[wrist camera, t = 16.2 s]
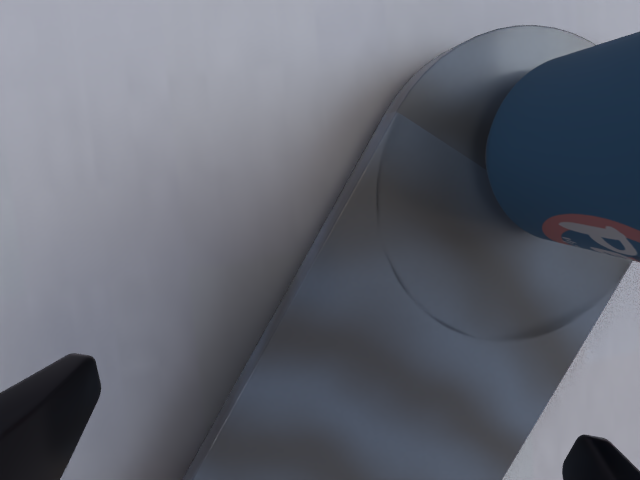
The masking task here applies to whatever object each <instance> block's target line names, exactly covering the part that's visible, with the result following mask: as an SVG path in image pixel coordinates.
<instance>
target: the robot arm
mask: <svg viewBox="0 0 640 480" xmlns="http://www.w3.org/2000/svg"><path fill="white" fill-rule="evenodd" d="M100 392H101V383H100V379H99V374H98V370H97V365H96V361H95V359H94V358H93V357H92V356H89V355H82V354H76V353H73V354H69V355H67V356H65V357H63V358H61V359H60V360H58V361H56V362H54V363H52V364H51V365H49V366H47V367H45V368H44V369H42V370H40V371H38V372H37V373H35V374H33V375H31V376H30V377H28V378H26V379H24V380H22V381H21V382H19V383H17V384H15V385H14V386H12V387H10V388H8V389H7V390H5V391H3V392H1V393H0V480H60V478H61V476H62V474H63V472H64V470H65V468H66V466H67V465H68V463H69V460H70V458H71V456H72V454H73V452H74V450H75V448H76V446H77V443H78V441H79V439H80V437H81V435H82V433H83V431H84V429H85V427H86V424H87V422H88V420H89V418H90V416H91V414H92V412H93V410H94V407H95V405H96V403H97V401H98V399H99V396H100ZM562 474H563V480H640V471H639V470H638V469H637V468H636V467H635V466H634V465H633V464H632V463H631V462H630V461H629V460H628V459H627V458H626V457H625V456H624V455H623V454H622V453H621V452H620V451H619V450H618V449H617V448H616V447H615V446H614V445H613V444H612V443H611V442H609V441H608V440H607V439H605V438H601V437H595V436H589V435H581V436H579V437H578V438H577V440H576V441H575V443H574V445H573V447H572V448H571V450H570V452H569V454H568V455H567V457H566V459H565V461H564V463H563V469H562Z"/></svg>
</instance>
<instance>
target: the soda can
mask: <svg viewBox="0 0 640 480" xmlns="http://www.w3.org/2000/svg"><path fill="white" fill-rule="evenodd" d="M485 159H486V169H487V174H488V178H489V182H490V185H491V188H492V191H493V193H494V195H495V197H496V199H497V201H498V203H499V205H500V206H501V208H502V209H503V211H504V212H505V213H506V215H507V216H508V217H509V218H510V219H511V220H512V221H513V222H514V223H515V224H516V225H517V226H519V227H520V228H521V229H523V230H524V231H526V232H528V233H529V234H532V235H534V236H536V237H539V238H542V239H546V240H550V241H554V242H558V243H562V244H566V245H570V246H575V247H579V248H583V249H587V250H591V251H595V252H599V253H604V254H608V255H612V256H616V257H620V258H624V259H629V260H633V261H637V262H640V32H637V33H634V34H631V35H628V36H625V37H621V38H618V39H615V40H612V41H609V42H605V43H602V44H599V45H596V46H593V47H590V48H586V49H583V50H580V51H577V52H574V53H570V54H567V55H564V56H561V57H558V58H554V59H552V60H549V61H547V62H545V63H543V64H541V65H539V66H537V67H536V68H534V69H533V70H531V71H530V72H529V73H527V74H526V75H525V76H524V77H523V78H521V79H520V80H519V81H518V82H517V83H516V84H515V86H514V87H513V88H512V89H511V90H510V92H509V93H508V94H507V96H506V97H505V99H504V100H503V102H502V103H501V105H500V107H499V109H498V111H497V113H496V115H495V117H494V120H493V122H492V125H491V128H490V131H489V135H488V139H487V144H486V157H485Z"/></svg>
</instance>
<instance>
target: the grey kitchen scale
mask: <svg viewBox="0 0 640 480" xmlns="http://www.w3.org/2000/svg"><path fill="white" fill-rule="evenodd" d="M593 46H596V45H595V44H593V43H592V42H590V41H588V40H586V39H584V38H582V37H580V36H578V35H576V34H574V33H570V32H567V31H564V30H560V29H557V28H552V27H545V26H537V25H526V26H512V27H506V28H501V29H496V30H493V31H490V32H487V33H484V34H481V35H478V36H476V37H474V38H472V39H470V40H468V41H466V42H464V43H462V44H460V45H458V46H456V47H454V48H452V49H450V50H448V51H446V52H444V53H442V54H440V55H439V56H438V57H436V58H435V59H433V60H432V61H430V62H429V63H428V64H426V65H425V66H424V67H423V68H421V69H420V70H419V71H418V72H417V73H416V74H415V75H414V76H413V77H412V78H411V79H410V80H409V81H408V82H407V83H406V84H405V86H404V87H403V88H402V89H401V90H400V92H399V93H398V94H397V95H396V97H395V98H394V100H393V101H392V103H391V104H390V106H389V108H388V109H387V111H386V112H385V114H384V116H383V118H382V119H381V121H380V123H379V125H378V127H377V128H376V130H375V132H374V134H373V136H372V137H371V139H370V141H369V143H368V145H367V147H366V148H365V150H364V152H363V154H362V156H361V157H360V159H359V161H358V163H357V165H356V166H355V168H354V170H353V172H352V174H351V175H350V177H349V179H348V181H347V183H346V185H345V186H344V188H343V190H342V192H341V194H340V195H339V197H338V199H337V201H336V203H335V204H334V206H333V208H332V210H331V212H330V213H329V215H328V217H327V219H326V221H325V222H324V224H323V226H322V228H321V230H320V232H319V233H318V235H317V237H316V239H315V241H314V242H313V244H312V246H311V248H310V250H309V251H308V253H307V255H306V257H305V259H304V260H303V262H302V264H301V266H300V268H299V270H298V271H297V273H296V275H295V277H294V279H293V280H292V282H291V284H290V286H289V288H288V289H287V291H286V293H285V295H284V297H283V298H282V300H281V302H280V304H279V306H278V308H277V309H276V311H275V313H274V315H273V317H272V318H271V320H270V322H269V324H268V326H267V327H266V329H265V331H264V333H263V335H262V336H261V338H260V340H259V342H258V344H257V345H256V347H255V349H254V351H253V353H252V355H251V356H250V358H249V360H248V362H247V364H246V365H245V367H244V369H243V371H242V373H241V374H240V376H239V378H238V380H237V382H236V383H235V385H234V387H233V389H232V391H231V393H230V394H229V396H228V398H227V400H226V402H225V403H224V405H223V407H222V409H221V411H220V412H219V414H218V416H217V418H216V420H215V421H214V423H213V425H212V427H211V429H210V431H209V432H208V434H207V436H206V438H205V440H204V441H203V443H202V445H201V447H200V449H199V450H198V452H197V454H196V456H195V458H194V459H193V461H192V463H191V465H190V467H189V468H188V470H187V472H186V474H185V476H184V478H183V479H182V480H502V479H503V477H504V476H505V474H506V472H507V471H508V469H509V467H510V465H511V464H512V462H513V460H514V459H515V457H516V455H517V454H518V452H519V450H520V449H521V447H522V445H523V444H524V442H525V440H526V439H527V437H528V435H529V434H530V432H531V430H532V429H533V427H534V425H535V424H536V422H537V420H538V419H539V417H540V415H541V414H542V412H543V410H544V409H545V407H546V405H547V403H548V402H549V400H550V398H551V397H552V395H553V393H554V392H555V390H556V388H557V387H558V385H559V383H560V382H561V380H562V378H563V377H564V375H565V373H566V372H567V370H568V368H569V367H570V365H571V363H572V362H573V360H574V358H575V357H576V355H577V353H578V352H579V350H580V348H581V346H582V345H583V343H584V341H585V340H586V338H587V336H588V335H589V333H590V331H591V330H592V328H593V326H594V325H595V323H596V321H597V320H598V318H599V316H600V315H601V313H602V311H603V310H604V308H605V306H606V305H607V303H608V301H609V300H610V298H611V296H612V295H613V293H614V291H615V290H616V288H617V286H618V284H619V283H620V281H621V279H622V278H623V276H624V274H625V273H626V271H627V269H628V268H629V266H630V264H631V263H632V261H633V260H629V259H624V258H620V257H616V256H612V255H608V254H604V253H599V252H595V251H591V250H587V249H583V248H579V247H575V246H570V245H566V244H562V243H558V242H554V241H550V240H546V239H542V238H539V237H536V236H534V235H532V234H529V233H528V232H526V231H524V230H523V229H521V228H520V227H519V226H517V225H516V224H515V223H514V222H513V221H512V220H511V219H510V218H509V217H508V216H507V215H506V213H505V212H504V211H503V209H502V208H501V206H500V205H499V203H498V201H497V199H496V197H495V195H494V193H493V191H492V188H491V185H490V182H489V178H488V174H487V169H486V159H485V157H486V144H487V139H488V135H489V131H490V128H491V125H492V122H493V120H494V117H495V115H496V113H497V111H498V109H499V107H500V105H501V103H502V102H503V100H504V99H505V97H506V96H507V94H508V93H509V92H510V90H511V89H512V88H513V87H514V86H515V84H516V83H517V82H518V81H519V80H520V79H521V78H523V77H524V76H525V75H526V74H527V73H529V72H530V71H531V70H533V69H534V68H536V67H537V66H539V65H541V64H543V63H545V62H547V61H549V60H552V59H554V58H558V57H561V56H564V55H567V54H570V53H574V52H577V51H580V50H583V49H586V48H590V47H593Z"/></svg>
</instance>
